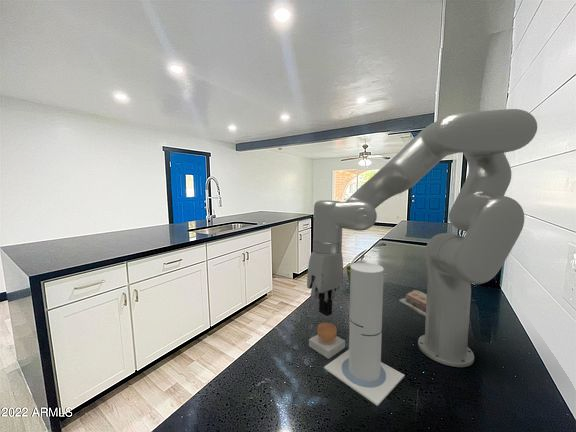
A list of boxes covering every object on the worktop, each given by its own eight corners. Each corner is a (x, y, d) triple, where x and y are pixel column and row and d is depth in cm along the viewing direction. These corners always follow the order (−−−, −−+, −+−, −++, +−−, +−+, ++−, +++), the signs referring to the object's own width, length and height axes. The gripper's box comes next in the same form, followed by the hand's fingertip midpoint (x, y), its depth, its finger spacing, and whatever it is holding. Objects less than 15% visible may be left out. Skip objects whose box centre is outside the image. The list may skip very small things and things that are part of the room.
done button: (325, 327, 71) (325, 320, 71) (340, 334, 67) (340, 327, 67) (313, 334, 68) (313, 327, 68) (328, 342, 64) (328, 335, 64)
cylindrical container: (356, 356, 63) (358, 261, 61) (384, 368, 59) (388, 266, 56) (343, 372, 58) (345, 268, 55) (373, 387, 53) (376, 274, 51)
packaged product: (463, 307, 81) (439, 311, 78) (462, 321, 82) (438, 326, 79) (419, 287, 98) (398, 290, 95) (419, 298, 99) (398, 302, 96)
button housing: (325, 336, 73) (325, 329, 73) (345, 347, 68) (345, 340, 67) (308, 346, 68) (308, 339, 68) (328, 358, 63) (328, 351, 63)
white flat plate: (352, 347, 67) (352, 346, 67) (404, 376, 57) (404, 374, 57) (323, 368, 60) (323, 366, 60) (377, 406, 49) (377, 403, 49)
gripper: (333, 241, 73) (332, 300, 75) (296, 248, 63) (295, 316, 65) (355, 245, 67) (353, 310, 69) (318, 254, 57) (316, 329, 59)
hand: (325, 313), depth 67 cm, fingers closed
